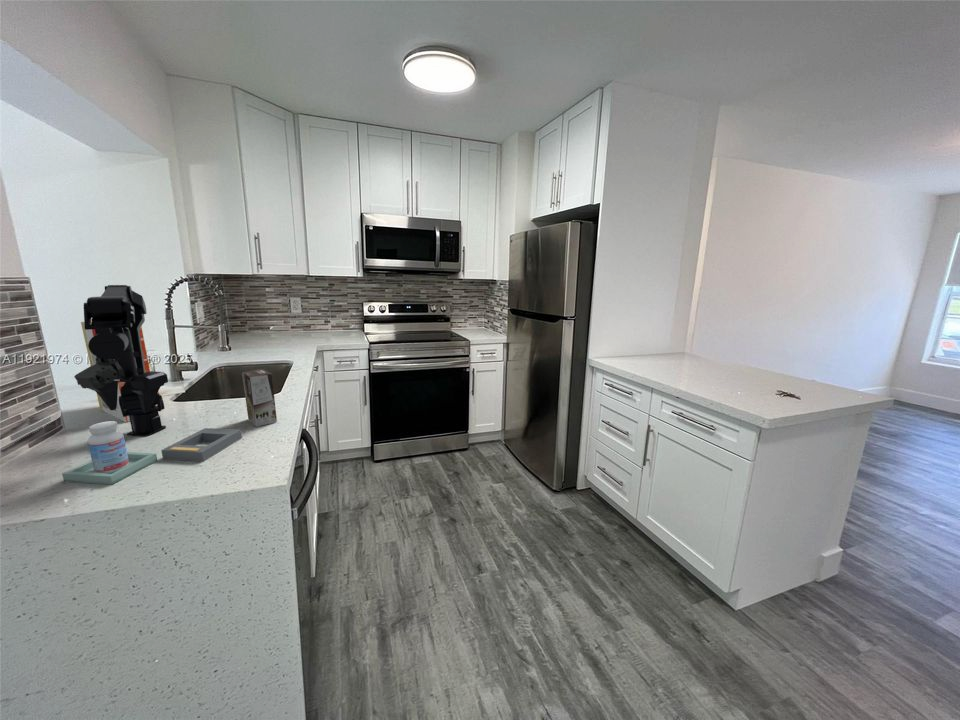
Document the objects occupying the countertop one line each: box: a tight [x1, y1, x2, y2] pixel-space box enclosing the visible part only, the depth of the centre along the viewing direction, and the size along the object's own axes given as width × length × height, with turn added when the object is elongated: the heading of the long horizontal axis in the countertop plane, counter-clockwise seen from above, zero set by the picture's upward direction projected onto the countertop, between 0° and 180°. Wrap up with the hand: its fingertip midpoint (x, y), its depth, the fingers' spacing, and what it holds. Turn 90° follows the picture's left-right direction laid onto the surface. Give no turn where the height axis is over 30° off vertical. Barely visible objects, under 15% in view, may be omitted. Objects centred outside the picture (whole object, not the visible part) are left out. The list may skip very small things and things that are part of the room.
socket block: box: [161, 427, 243, 462], centre depth 102 cm, size 11×14×3 cm
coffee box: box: [241, 368, 278, 428], centre depth 120 cm, size 9×6×16 cm
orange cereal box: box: [80, 320, 157, 424], centre depth 124 cm, size 23×8×30 cm, turn 59°
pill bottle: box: [87, 420, 129, 474], centre depth 89 cm, size 6×6×11 cm
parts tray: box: [61, 451, 158, 485], centre depth 90 cm, size 12×11×2 cm
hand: (129, 411), depth 94 cm, fingers open, 9 cm apart
